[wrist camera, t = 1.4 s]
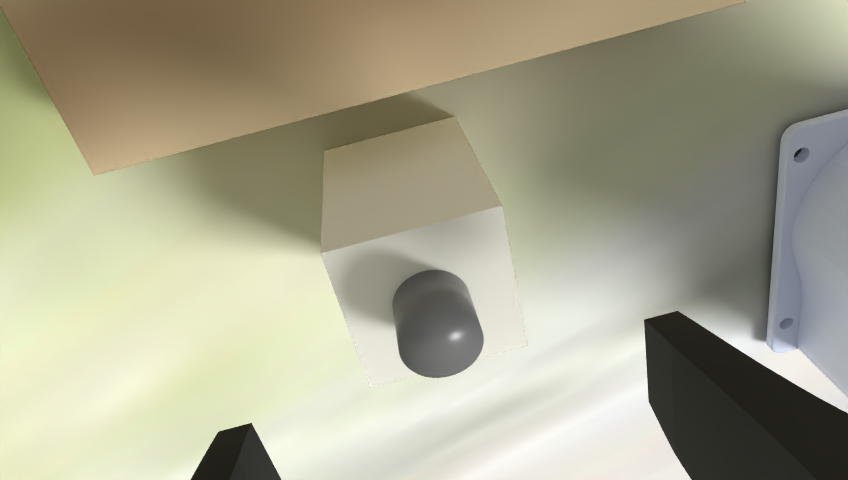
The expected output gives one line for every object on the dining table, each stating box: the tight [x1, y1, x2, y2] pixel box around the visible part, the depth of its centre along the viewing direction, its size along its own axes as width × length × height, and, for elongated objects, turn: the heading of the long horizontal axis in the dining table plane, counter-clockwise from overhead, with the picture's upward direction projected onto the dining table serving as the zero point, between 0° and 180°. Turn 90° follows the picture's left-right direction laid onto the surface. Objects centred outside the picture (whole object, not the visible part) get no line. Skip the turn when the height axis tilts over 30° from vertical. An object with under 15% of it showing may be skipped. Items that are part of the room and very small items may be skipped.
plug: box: [321, 116, 528, 388], centre depth 16 cm, size 4×4×8 cm
